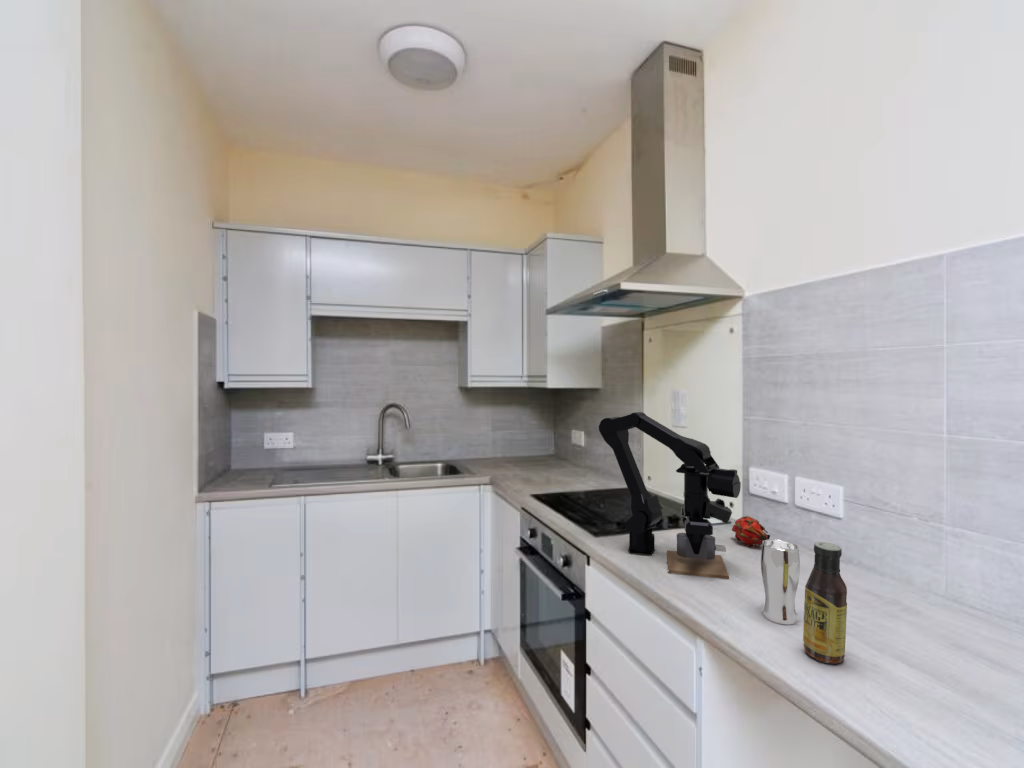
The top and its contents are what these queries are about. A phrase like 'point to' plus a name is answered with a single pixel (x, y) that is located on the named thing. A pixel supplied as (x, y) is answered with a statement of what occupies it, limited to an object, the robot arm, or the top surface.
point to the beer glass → (780, 580)
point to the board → (696, 566)
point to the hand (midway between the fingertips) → (695, 550)
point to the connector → (705, 551)
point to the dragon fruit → (749, 531)
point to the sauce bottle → (825, 606)
